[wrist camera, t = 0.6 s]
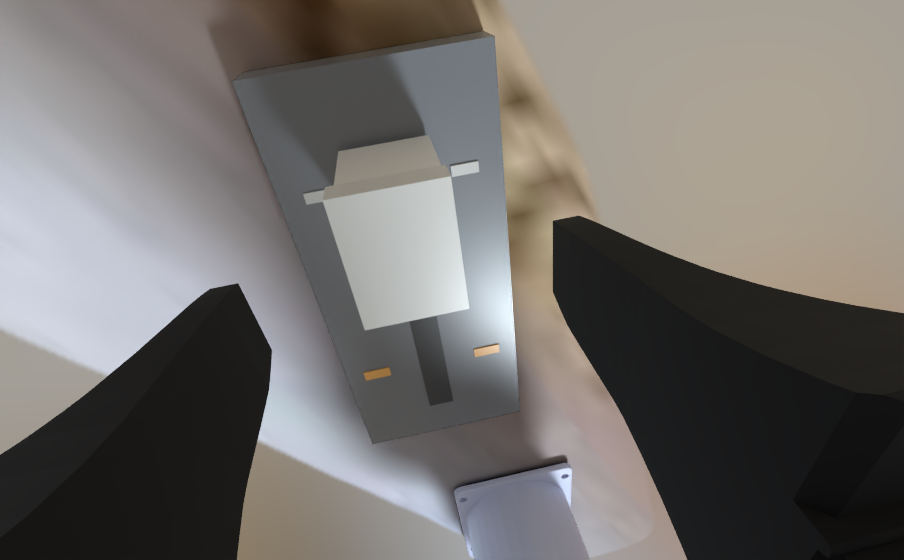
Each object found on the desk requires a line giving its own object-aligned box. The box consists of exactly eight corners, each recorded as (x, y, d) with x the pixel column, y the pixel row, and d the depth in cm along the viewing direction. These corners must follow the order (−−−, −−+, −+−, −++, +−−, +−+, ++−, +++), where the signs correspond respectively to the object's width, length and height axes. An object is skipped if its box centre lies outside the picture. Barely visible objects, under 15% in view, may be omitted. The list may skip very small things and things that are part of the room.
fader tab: (443, 227, 17) (469, 308, 13) (364, 243, 17) (364, 330, 13) (426, 119, 14) (450, 176, 10) (333, 136, 14) (322, 200, 10)
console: (512, 390, 25) (520, 412, 24) (372, 421, 25) (372, 445, 24) (483, 31, 15) (494, 36, 14) (242, 72, 14) (231, 82, 13)
